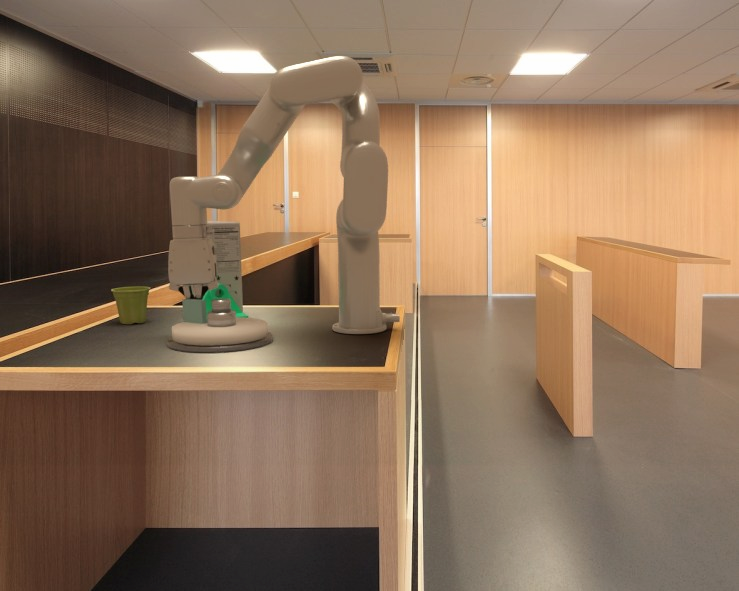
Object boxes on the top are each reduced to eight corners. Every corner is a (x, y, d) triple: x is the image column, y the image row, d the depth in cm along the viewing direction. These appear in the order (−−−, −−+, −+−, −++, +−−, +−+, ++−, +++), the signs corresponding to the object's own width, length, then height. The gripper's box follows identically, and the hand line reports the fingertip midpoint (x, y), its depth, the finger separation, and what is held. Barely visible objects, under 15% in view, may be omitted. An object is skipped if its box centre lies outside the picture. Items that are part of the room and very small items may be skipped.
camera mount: (200, 331, 157) (198, 287, 155) (193, 326, 163) (191, 284, 162) (249, 326, 162) (248, 284, 160) (241, 321, 169) (239, 281, 167)
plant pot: (105, 325, 165) (102, 290, 163) (127, 318, 174) (125, 285, 172) (138, 326, 162) (136, 291, 161) (159, 320, 171) (157, 286, 170)
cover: (220, 321, 146) (219, 297, 146) (241, 323, 144) (241, 298, 143) (201, 325, 141) (200, 300, 141) (223, 328, 138) (222, 302, 138)
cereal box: (192, 311, 185) (188, 221, 182) (218, 309, 189) (215, 220, 185) (214, 323, 166) (210, 222, 163) (243, 320, 170) (240, 222, 167)
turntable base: (277, 331, 154) (277, 327, 154) (266, 352, 132) (266, 347, 132) (181, 333, 153) (181, 328, 153) (154, 353, 131) (154, 348, 131)
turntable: (216, 324, 156) (215, 293, 155) (286, 331, 146) (285, 298, 145) (151, 340, 139) (149, 305, 138) (225, 349, 129) (224, 311, 128)
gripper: (227, 231, 150) (232, 311, 153) (160, 233, 150) (166, 314, 152) (221, 233, 143) (226, 317, 145) (151, 235, 142) (157, 319, 145)
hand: (195, 315), depth 149 cm, fingers closed
